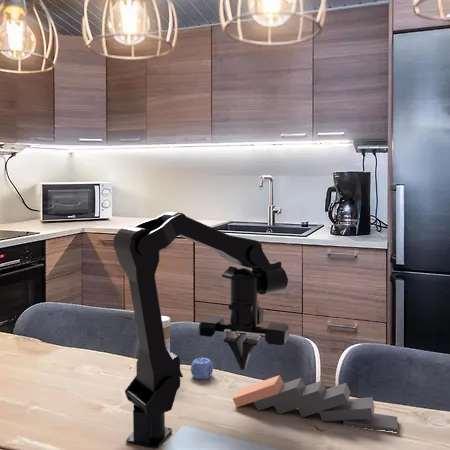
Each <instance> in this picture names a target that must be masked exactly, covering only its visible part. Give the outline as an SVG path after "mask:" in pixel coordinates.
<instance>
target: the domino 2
mask: <svg viewBox="0 0 450 450" xmlns="http://www.w3.org/2000/svg"><path fill="white" fill-rule="evenodd" d="M283 383H284V384H283V386H282V388H281V390H280V392H279V393H278V394H276V395H273V396H270V397H267V398H264V399H261V400H257V401H254V402H253V404H254V406H255V408H256V411H262V410H265V409H267V408H271V407H275V406H274V405H277V404H280V403H283V402H286V401H289V400H292V399H295V398H298V397H301V395H302V392H303V390H304V388H305V386H306V385H305V383H304V381H303V379H302V377H299V378H296V379H293V380H291V381H287V382H283Z"/></svg>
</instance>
